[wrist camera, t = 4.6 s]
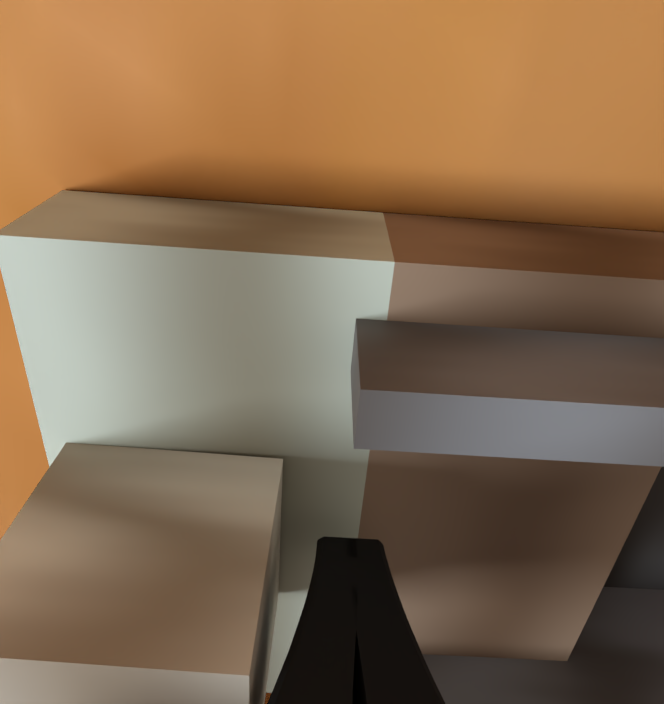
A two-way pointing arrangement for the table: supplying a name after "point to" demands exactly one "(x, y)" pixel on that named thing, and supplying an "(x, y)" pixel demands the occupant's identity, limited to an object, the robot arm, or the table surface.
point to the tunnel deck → (388, 408)
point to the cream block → (142, 579)
